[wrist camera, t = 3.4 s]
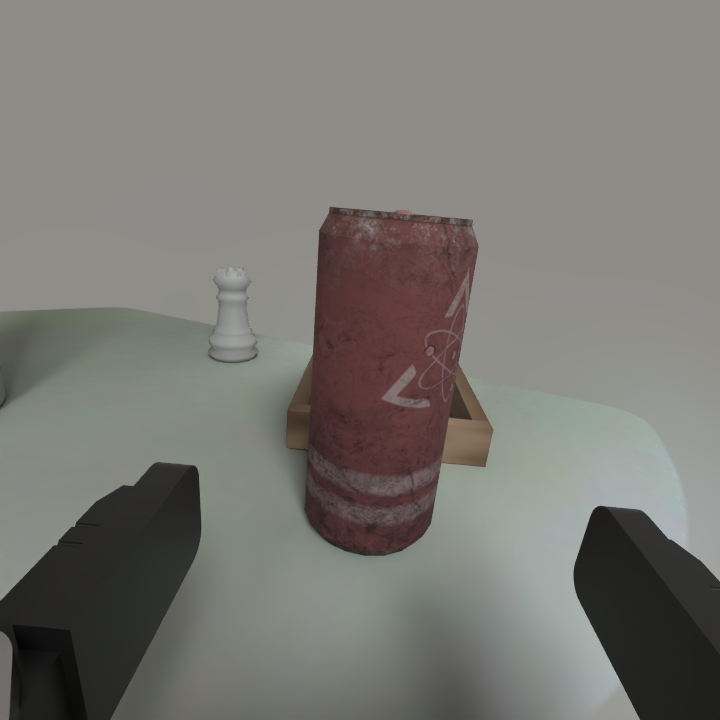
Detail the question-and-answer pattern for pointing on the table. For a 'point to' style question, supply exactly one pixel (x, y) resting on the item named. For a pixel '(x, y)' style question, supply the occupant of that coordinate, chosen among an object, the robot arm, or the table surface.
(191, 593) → the table surface
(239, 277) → the rook chess piece
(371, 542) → the can
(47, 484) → the table surface
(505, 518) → the table surface
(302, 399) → the walnut collar
